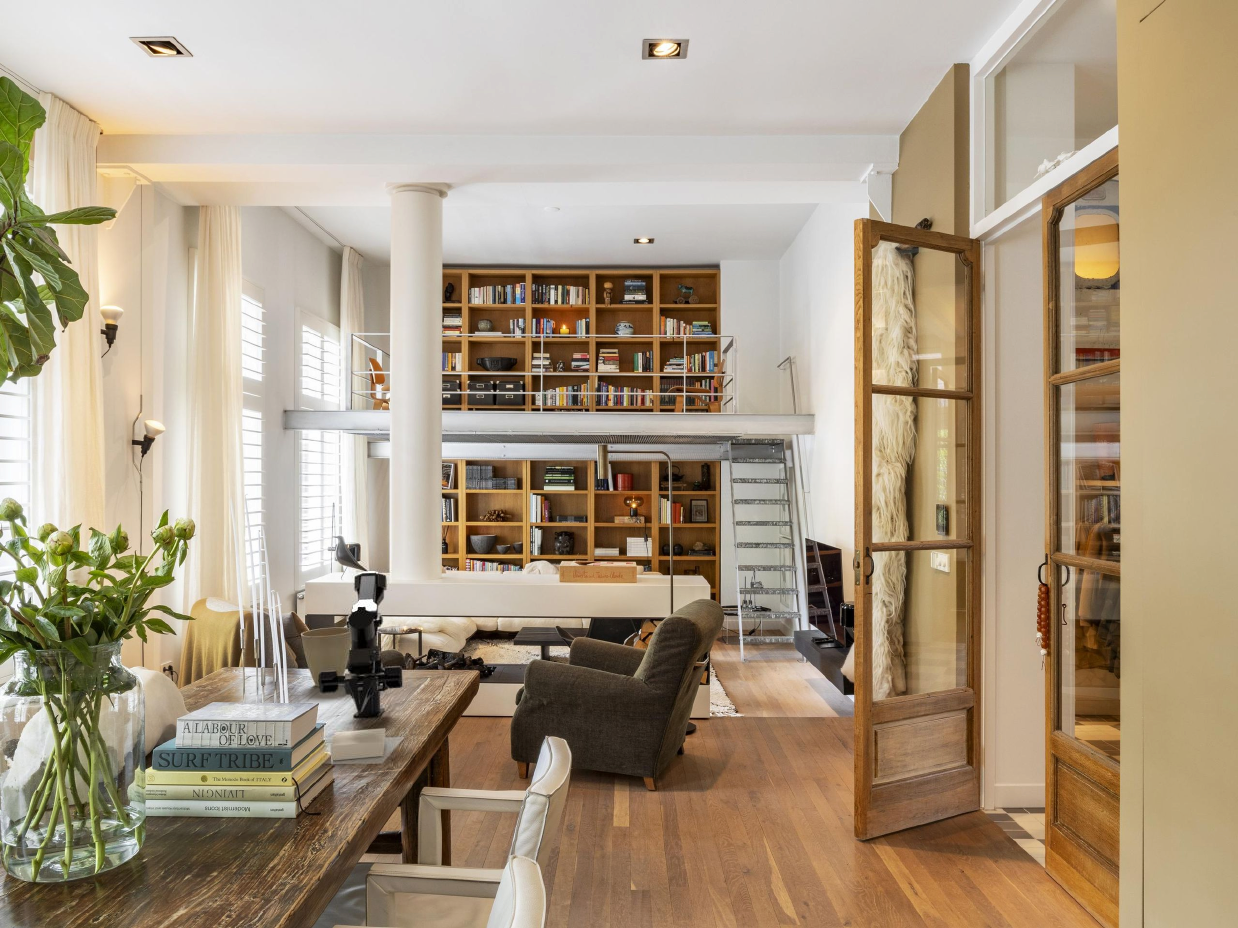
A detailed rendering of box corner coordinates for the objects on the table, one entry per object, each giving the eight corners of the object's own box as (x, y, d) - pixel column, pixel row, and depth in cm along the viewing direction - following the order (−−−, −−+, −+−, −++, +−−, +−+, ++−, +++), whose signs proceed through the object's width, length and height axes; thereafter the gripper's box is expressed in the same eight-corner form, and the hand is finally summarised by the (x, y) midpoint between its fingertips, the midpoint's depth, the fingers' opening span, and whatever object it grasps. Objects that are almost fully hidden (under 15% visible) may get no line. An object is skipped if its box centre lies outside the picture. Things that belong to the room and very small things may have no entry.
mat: (337, 739, 196) (337, 737, 196) (404, 738, 196) (404, 736, 196) (308, 765, 178) (308, 764, 178) (382, 764, 178) (382, 763, 178)
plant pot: (342, 675, 261) (342, 625, 261) (361, 684, 249) (360, 631, 250) (294, 683, 251) (294, 631, 252) (311, 693, 240) (310, 638, 240)
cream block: (335, 732, 189) (330, 745, 180) (385, 728, 192) (382, 741, 182) (335, 747, 189) (330, 761, 179) (385, 743, 192) (383, 757, 182)
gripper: (318, 636, 192) (312, 695, 181) (401, 631, 196) (400, 689, 185) (323, 663, 199) (317, 721, 188) (403, 658, 203) (402, 715, 192)
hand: (359, 711), depth 188 cm, fingers closed
